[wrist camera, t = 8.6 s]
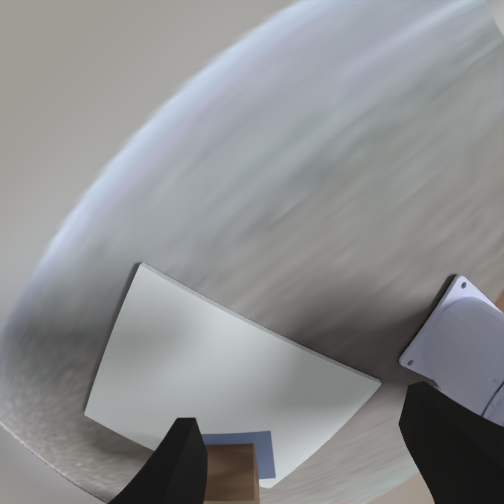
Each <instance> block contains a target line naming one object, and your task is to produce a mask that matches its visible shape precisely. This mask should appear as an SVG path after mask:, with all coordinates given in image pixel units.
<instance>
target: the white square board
mask: <svg viewBox="0 0 504 504" xmlns="http://www.w3.org/2000/svg"><path fill="white" fill-rule="evenodd" d="M380 386H381V382H380V380H379V379H377V378H374V377H372V376H369V375H367V374H365V373H362V372H360V371H358V370H355V369H353V368H351V367H348V366H346V365H344V364H342V363H339V362H337V361H335V360H333V359H330V358H328V357H326V356H324V355H322V354H319V353H317V352H315V351H313V350H311V349H308V348H306V347H304V346H302V345H300V344H298V343H296V342H294V341H291V340H289V339H287V338H285V337H283V336H281V335H279V334H277V333H275V332H273V331H271V330H269V329H267V328H265V327H263V326H261V325H259V324H257V323H255V322H253V321H251V320H249V319H247V318H245V317H243V316H241V315H239V314H237V313H235V312H233V311H231V310H229V309H227V308H225V307H223V306H221V305H220V304H218V303H216V302H214V301H212V300H210V299H208V298H206V297H204V296H203V295H201V294H199V293H197V292H195V291H193V290H191V289H190V288H188V287H186V286H184V285H182V284H181V283H179V282H177V281H175V280H173V279H172V278H170V277H168V276H166V275H164V274H163V273H161V272H159V271H157V270H156V269H154V268H152V267H150V266H149V265H147V264H145V263H142V264H140V266H139V268H138V270H137V272H136V275H135V277H134V279H133V282H132V284H131V286H130V289H129V291H128V293H127V296H126V298H125V301H124V303H123V306H122V308H121V310H120V313H119V315H118V318H117V321H116V323H115V326H114V328H113V331H112V333H111V336H110V339H109V341H108V344H107V347H106V350H105V352H104V355H103V358H102V361H101V364H100V367H99V370H98V372H97V375H96V378H95V381H94V384H93V388H92V391H91V394H90V397H89V400H88V403H87V407H86V410H85V413H84V415H86V416H87V417H89V418H91V419H92V420H94V421H96V422H98V423H99V424H101V425H103V426H105V427H107V428H109V429H110V430H112V431H114V432H116V433H118V434H120V435H122V436H124V437H126V438H128V439H130V440H132V441H134V442H136V443H138V444H140V445H143V446H145V447H147V448H149V449H151V450H154V451H155V450H156V449H157V447H158V446H159V444H160V443H161V441H162V440H163V438H164V437H165V435H166V434H167V432H168V431H169V429H170V428H171V426H172V424H173V423H174V421H175V420H176V419H177V418H187V417H196V420H197V423H198V426H199V429H200V432H201V435H202V438H203V441H204V444H205V445H232V444H251V443H253V444H254V449H255V455H256V460H257V466H258V471H259V486H261V487H265V488H269V489H270V488H271V487H273V486H274V485H275V484H277V483H278V482H279V481H281V480H282V479H283V478H284V477H286V476H287V475H288V474H289V473H291V472H292V471H293V470H294V469H296V468H297V467H298V466H299V465H300V464H302V463H303V462H304V461H305V460H306V459H307V458H309V457H310V456H311V455H312V454H313V453H314V452H315V451H317V450H318V449H319V448H320V447H321V446H322V445H323V444H324V443H325V442H326V441H328V440H329V439H330V438H331V437H332V436H333V435H334V434H335V433H336V432H337V431H338V430H339V429H340V428H341V427H342V426H343V425H344V424H345V423H346V422H347V421H348V420H349V419H350V418H351V417H352V416H353V415H354V414H355V413H356V412H357V411H358V410H359V409H360V408H361V407H362V406H363V404H364V403H365V402H366V401H367V400H368V399H369V398H370V397H371V396H372V395H373V394H374V392H375V391H376V390H377V389H378V388H379V387H380Z"/></svg>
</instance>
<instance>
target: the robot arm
mask: <svg viewBox="0 0 504 504" xmlns="http://www.w3.org/2000/svg"><path fill="white" fill-rule="evenodd" d="M462 283H463V286H462V287H461V285H462ZM410 360H411V361H410ZM409 361H410V362H409ZM408 362H409V363H408ZM399 363H400V364H401V365H402V366H404V367H406V368H408V369H410V370H412V371H414V372H416V373H419V374H421V375H423V376H425V377H427V378H429V379H432V380H434V381H435V382H436V383H437V385H438V386H439V387H440V388H441V390H442V391H443V392H444V394H443V393H441V392H440V391H438V390H437V389H435V388H434V387H432V386H430V385H429V384H427V383H425V382H424V381H422V382H418V383H415V384H412V385H408V389H407V394H406V398H405V402H404V406H403V410H402V413H401V417H400V421H399V427H400V430H401V433H402V436H403V439H404V441H405V444H406V446H407V448H408V450H409V452H410V454H411V456H412V458H413V460H414V462H415V464H416V465H417V467H418V469H419V471H420V473H421V475H422V477H423V479H424V480H425V482H426V484H427V486H428V488H429V490H430V492H431V494H432V497H433V499H434V502H435V504H504V314H503V313H502V312H501V311H500V310H499V309H498V308H497V307H496V306H495V305H494V304H493V303H492V302H491V301H490V300H489V299H488V298H486V297H485V296H484V295H483V294H482V293H481V292H480V291H479V290H478V289H477V288H476V287H475V286H474V285H473V284H471V283H470V282H469V281H468V280H467V279H466V278H465V277H464V276H462V275H460V274H459V275H457V276H456V277H455V278H454V279H453V281H452V283H451V284H450V286H449V288H448V289H447V291H446V293H445V294H444V296H443V297H442V299H441V300H440V302H439V304H438V305H437V307H436V308H435V310H434V311H433V313H432V314H431V316H430V317H429V319H428V320H427V321H426V323H425V324H424V326H423V327H422V329H421V330H420V331H419V333H418V334H417V336H416V337H415V338H414V340H413V341H412V342H411V344H410V345H409V346H408V348H407V349H406V350H405V352H404V353H403V354H402V355H401V357H400V358H399ZM207 471H208V453H207V450H206V447H205V444H204V441H203V438H202V435H201V432H200V429H199V426H198V423H197V420H196V417H187V418H177V419H176V420H175V421H174V423H173V424H172V426H171V428H170V429H169V431H168V432H167V434H166V435H165V437H164V438H163V440H162V441H161V443H160V444H159V446H158V447H157V449H156V450H155V451H154V453H153V454H152V455H151V457H150V458H149V459H148V461H147V462H146V464H145V465H144V466H143V467H142V469H141V470H140V471H139V472H138V473H137V474H136V476H135V477H134V478H133V479H132V480H131V481H130V483H129V484H128V485H127V486H126V487H125V488H124V489H123V490H122V491H121V492H120V493H119V494H118V495H117V496H116V497H115V498H114V499H113V500H112V501H111V502H109V503H108V504H203V503H204V497H205V490H206V484H207Z"/></svg>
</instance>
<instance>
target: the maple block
mask: <svg viewBox="0 0 504 504" xmlns="http://www.w3.org/2000/svg"><path fill="white" fill-rule="evenodd" d="M203 504H255V501H254V500H251V501H204V503H203Z"/></svg>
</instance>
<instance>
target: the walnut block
mask: <svg viewBox="0 0 504 504" xmlns="http://www.w3.org/2000/svg"><path fill="white" fill-rule="evenodd" d="M205 447H206V450H207V453H208V471H207V484H206V490H205V497H204V501H251V500H254V501H255V504H260V499H259V471H258V466H257V460H256V455H255V449H254V444H253V443H251V444H232V445H205Z"/></svg>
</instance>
